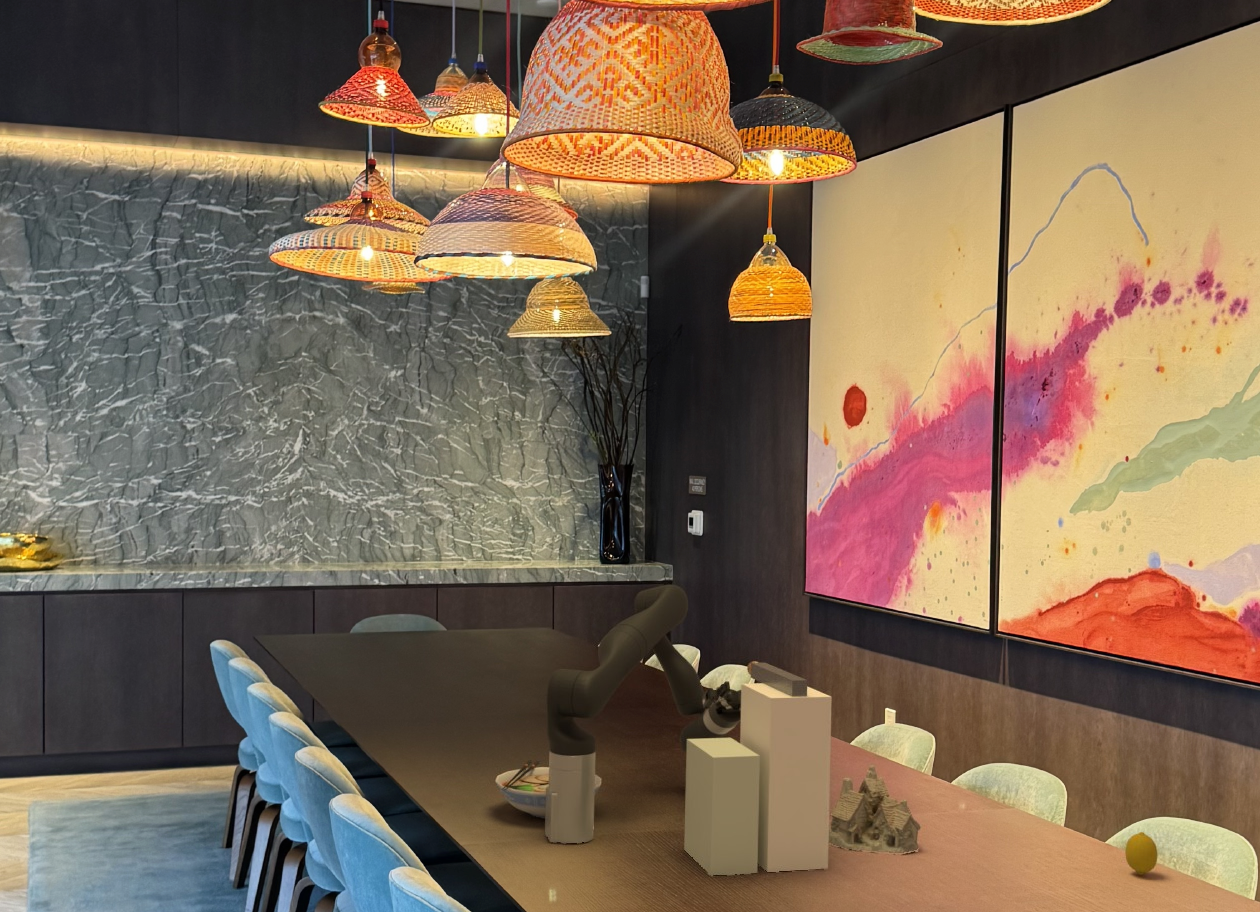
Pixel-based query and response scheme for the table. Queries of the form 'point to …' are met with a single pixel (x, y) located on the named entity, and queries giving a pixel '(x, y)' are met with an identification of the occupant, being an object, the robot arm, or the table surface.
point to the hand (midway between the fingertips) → (747, 685)
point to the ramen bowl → (529, 788)
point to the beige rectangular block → (722, 806)
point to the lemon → (1141, 853)
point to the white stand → (790, 774)
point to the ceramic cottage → (872, 819)
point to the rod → (778, 679)
